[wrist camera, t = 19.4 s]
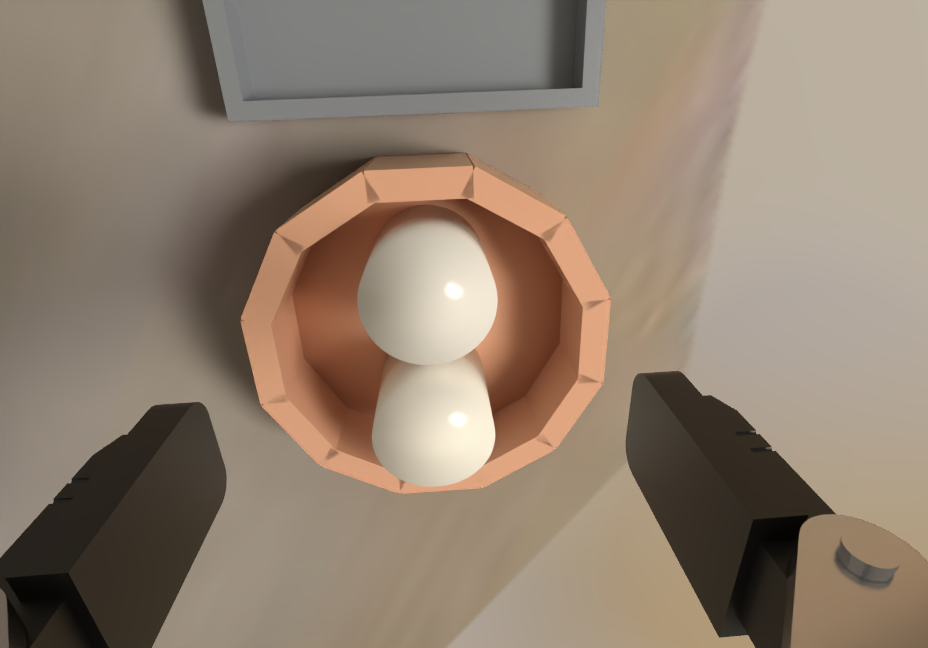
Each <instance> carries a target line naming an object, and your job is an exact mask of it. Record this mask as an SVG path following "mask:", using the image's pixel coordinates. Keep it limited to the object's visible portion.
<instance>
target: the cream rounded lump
mask: <svg viewBox="0 0 928 648" xmlns="http://www.w3.org/2000/svg"><path fill="white" fill-rule="evenodd" d="M494 443H495V427H494V422H493V417H492V411H491V406H490V401H489V396H488V391H487V386H486V381H485V375H484V370H483V365H482V361H481V358H480V356H479V354H478V352H477V350H476V349H475V348H474V349H473V350H472V351H471V352H469V353H468V354H466V355H465V356H463V357H461V358H459V359H456V360H454V361H451V362H448V363H443V364H437V365H418V364H412V363H408V362H405V361H402V360H399V359H397V358H395V357H393V356H391V355H389V354H387V356H386V359H385V362H384V366H383V371H382V377H381V383H380V389H379V395H378V401H377V406H376V412H375V418H374V424H373V430H372V445H373V449H374V452H375V454H376V457H377V458H378V460H379V462H380V463H381V464H382V465H383V467H384V468H385V469H386V470H387V471H388V472H390V473H391V474H392V475H394V476H395V477H397V478H399V479H401V480H403V481H405V482H408V483H411V484H414V485H419V486H428V487H438V486H446V485H450V484H454V483H457V482H460V481H462V480H464V479H466V478H468V477H470V476H471V475H473V474H474V473H475V472H477V471H478V470H479V469H480V468H481V467H482V466H483V465H484V464H485V463H486V461H487V460H488V458H489V457H490V455H491V453H492V450H493V447H494Z"/></svg>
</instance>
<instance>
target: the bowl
mask: <svg viewBox="0 0 928 648" xmlns="http://www.w3.org/2000/svg"><path fill="white" fill-rule="evenodd" d="M418 205H436V206H441V207H445V208H448V209H450V210H452V211H455V212H456V213H458V214H460V215H461V216H462V217H463V218H465V219H466V220H467V221H468V222H469V223H470V224H471V225H472V227H473V228H474V229H475V231H476V233H477V235H478V236H479V239H480V241H481V244H482V247H483V250H484V253H485V256H486V258H487V261H488V264H489V267H490V270H491V273H492V276H493V279H494V281H495V285H496V290H497V299H498V302H497V311H496V316H495V319H494V322H493V325H492V327H491V329H490V331H489V332H488V334H487V335H486V337H485V338H484V339H483V341H482V342H481V343H480V344H479V345H478V346H477V347H476V348H475V349H476V350H477V352H478V354H479V356H480V358H481V361H482V365H483V370H484V375H485V381H486V386H487V391H488V396H489V401H490V406H491V411H492V417H493V422H494V427H495V443H494V447H493V450H492V453H491V455H490V457H489V458H488V460H487V461H486V463H485V464H484V465H483V466H482V467H481V468H480V469H479V470H478V471H477V472H475V473H474V474H473V475H471V476H470V477H468V478H466V479H464V480H462V481H460V482H457V483H454V484H450V485H446V486H438V487H428V486H419V485H414V484H411V483H408V482H405V481H403V480H401V479H399V478H397V477H395V476H394V475H392V474H391V473H390V472H388V471H387V470H386V469H385V468H384V467H383V465H382V464H381V463H380V462H379V460H378V458H377V457H376V454H375V452H374V449H373V445H372V430H373V424H374V418H375V412H376V406H377V401H378V395H379V389H380V383H381V377H382V371H383V366H384V362H385V359H386V356H387V354H388V353H386V352H385V351H383V350H382V349H381V348H380V347H379V346H377V345H376V344H375V342H374V341H373V340H372V339H371V338H370V336H369V335H368V334H367V332H366V330H365V328H364V326H363V325H362V322H361V319H360V316H359V311H358V304H357V296H358V288H359V284H360V280H361V278H362V275H363V272H364V270H365V267H366V264H367V262H368V259H369V257H370V254H371V251H372V249H373V246H374V243H375V241H376V238H377V236H378V234H379V232H380V230H381V229H382V227H383V226H384V225H385V223H386V222H387V221H388V220H389V219H390V218H392V217H393V216H394V215H396V214H397V213H399V212H401V211H403V210H405V209H407V208H410V207H414V206H418ZM610 298H611V297H610V296H609V294H608V292H607V290H606V288H605V286H604V284H603V283H602V281H601V279H600V277H599V275H598V273H597V271H596V270H595V268H594V266H593V264H592V262H591V260H590V258H589V257H588V255H587V253H586V251H585V249H584V247H583V245H582V244H581V242H580V240H579V238H578V236H577V234H576V232H575V231H574V229H573V227H572V225H571V223H570V221H569V219H568V218H567V217H566V216H565V215H564V214H563V213H562V212H561V211H560V210H558V209H557V208H556V207H555V206H554V205H553V204H552V203H550V202H549V201H548V200H547V199H546V198H545V197H543V196H542V195H541V194H539V193H538V192H536V191H534V190H532V189H530V188H528V187H527V186H525V185H523V184H521V183H519V182H518V181H516V180H514V179H512V178H510V177H509V176H507V175H505V174H503V173H501V172H500V171H498V170H496V169H494V168H492V167H490V166H489V165H487V164H485V163H483V162H481V161H480V160H478V159H476V158H474V157H472V156H471V155H469V154H465V153H451V154H428V155H406V156H383V157H375V158H373V159H371V160H370V161H368V162H367V163H365V164H364V165H362V166H361V167H359V168H358V169H357V170H355V171H354V172H352V173H351V174H349V175H348V176H346V177H345V178H344V179H342V180H341V181H339V182H338V183H336V184H335V185H333V186H332V187H330V188H329V189H328V190H326V191H325V192H323V193H322V194H320V195H319V196H317V197H316V198H314V199H313V200H312V201H310V202H309V203H307V204H306V205H304V206H303V207H302V208H301V209H300V210H298V211H297V212H296V213H295V214H294V215H293V216H292V217H290V218H289V219H288V220H287V221H286V222H285V223H284V224H282V225H281V226H280V227H279V228H278V229H277V230H276V231H275V232H274V234H273V236H272V239H271V241H270V244H269V247H268V249H267V252H266V254H265V257H264V260H263V262H262V265H261V267H260V270H259V272H258V275H257V278H256V280H255V283H254V285H253V288H252V290H251V293H250V296H249V298H248V301H247V303H246V306H245V308H244V311H243V314H242V316H241V319H242V320H241V321H240V322H241V326H242V330H243V334H244V339H245V343H246V347H247V351H248V355H249V359H250V364H251V368H252V372H253V376H254V380H255V384H256V389H257V393H258V397H259V401H260V404H262V407H263V408H264V409H265V410H266V411H267V412H268V413H269V414H270V415H271V416H272V417H273V418H274V419H275V421H276V422H277V423H278V424H279V425H280V426H281V427H282V428H283V429H284V430H285V431H286V432H287V433H288V434H289V435H290V436H291V437H292V438H293V439H294V440H295V441H296V442H297V443H298V444H299V445H300V446H301V447H302V448H303V449H304V450H305V451H306V452H307V453H308V454H309V455H310V456H311V457H312V458H313V459H314V460H315V461H316V462H317V463H318V464H319V465H321V464H322V465H321V467H324V468H327V469H330V470H333V471H336V472H339V473H341V474H344V475H347V476H350V477H353V478H356V479H358V480H361V481H364V482H367V483H370V484H373V485H375V486H378V487H381V488H384V489H387V490H390V491H392V492H395V493H398V494H399V492H400V493H401V494H406V493H420V492H434V491H447V490H461V489H475V488H482V486H483V487H485V486H487V485H489V484H491V483H493V482H495V481H497V480H499V479H501V478H502V477H504V476H506V475H508V474H510V473H512V472H514V471H516V470H518V469H519V468H521V467H523V466H525V465H527V464H529V463H531V462H533V461H535V460H536V459H538V458H540V457H542V456H544V455H546V454H548V453H550V452H552V451H553V450H555V449H554V448H557V447H558V445H559V444H560V443H561V441H562V440H563V438H564V437H565V436H566V434H567V433H568V431H569V430H570V429H571V427H572V426H573V424H574V423H575V422H576V420H577V419H578V418H579V416H580V415H581V413H582V412H583V411H584V409H585V408H586V406H587V405H588V404H589V402H590V401H591V400H592V398H593V397H594V395H595V394H596V393H597V391H598V390H599V388H600V387H601V386H602V384H603V383H602V382H604V372H605V361H606V350H607V339H608V328H609V317H610V306H611V299H610Z"/></svg>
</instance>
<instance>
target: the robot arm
mask: <svg viewBox="0 0 928 648" xmlns="http://www.w3.org/2000/svg"><path fill="white" fill-rule="evenodd" d="M626 454H627V460H628V464H629V467H630V469H631V472H632V474H633V476H634V478H635V480H636V481H637V484H638V486H639V487H640V489H641V491H642V493H643V495H644V497H645V499H646V501H647V502H648V504H649V506H650V508H651V510H652V512H653V514H654V516H655V518H656V519H657V521H658V523H659V525H660V527H661V529H662V531H663V533H664V534H665V536H666V538H667V540H668V542H669V544H670V546H671V548H672V550H673V551H674V553H675V555H676V557H677V559H678V561H679V563H680V565H681V566H682V568H683V570H684V572H685V574H686V576H687V578H688V580H689V582H690V583H691V585H692V587H693V589H694V591H695V593H696V595H697V597H698V599H699V600H700V602H701V604H702V606H703V608H704V610H705V612H706V613H707V615H708V617H709V619H710V621H711V623H712V625H713V627H714V629H715V631H716V632H717V634H718V636H719V637H729V636H741V635H748V636H749V637H750V639H751V641H752V642H753V644H754V646H755V648H928V561H927V560H926V559H925V558H924V557H923V556H922V555H921V554H920V553H919V552H918V551H917V550H916V549H914V548H913V547H912V546H911V545H910V544H908V543H907V542H906V541H904V540H903V539H901V538H900V537H898V536H896V535H895V534H893V533H891V532H889V531H888V530H886V529H884V528H882V527H879V526H877V525H875V524H872V523H870V522H867V521H864V520H861V519H858V518H854V517H850V516H845V515H836V514H835V513H834V512H833V511H832V509H830V507H829V506H828V505H827V504H826V503H825V502H824V501H823V500H822V499H821V498H820V497H819V496H818V495H817V494H816V493H815V492H814V491H813V490H812V489H811V487H810V486H809V485H808V484H807V483H806V482H805V481H804V480H803V479H802V478H801V477H800V476H799V475H798V474H797V473H796V472H795V471H794V470H793V469H792V468H791V467H790V466H789V464H788V463H787V462H786V461H785V460H784V459H783V458H782V457H781V456H780V455H779V454H778V453H777V452H776V451H772V448H771V446H770V445H769V444H768V443H767V441H766V440H765V439H764V438H763V437H762V436H761V435H760V434H758V435H757V434H756V430H755V429H754V428H753V427H752V426H751V425H750V424H749V423H748V422H747V421H746V420H745V419H744V418H743V417H742V415H740V413H739V412H738V411H737V410H735V409H733V408H731V407H730V406H728V405H726V404H724V403H723V402H721V401H720V400H718V399H716V398H714V397H713V396H710V395H709V396H702V394H701V393H700V392H699V391H698V390H697V389H696V388H695V387H694V386H693V384H692V383H691V382H690V381H689V380H688V379H687V378H686V377H685V375H684V374H683V373H681V372H679V371H670V372H655V373H640V374H638V375H636V377H635V379H634V382H633V387H632V395H631V403H630V411H629V419H628V426H627V434H626ZM225 491H226V469H225V465H224V462H223V459H222V456H221V452H220V449H219V446H218V443H217V439H216V436H215V433H214V430H213V426H212V423H211V420H210V417H209V414H208V411H207V409H206V407H205V406H204V405H203V404H202V403H200V402H193V403H178V404H163V405H155V406H153V407H151V408H150V409H149V410H148V411H147V412H146V413H145V415H144V416H143V417H142V418H141V419H140V421H139V422H138V423H137V424H136V425H135V426H134V428H133V429H132V430H131V431H130V432H129V433H128V435H122V436H120V437H119V438H117V439H116V440H115V441H113V442H112V443H110V444H109V445H107V446H106V447H104V448H103V449H101V450H100V451H99V452H97V453H96V454H94V455H93V456H92V457H91V458H90V459H89V460H88V461H87V462H86V463H85V465H84V466H83V467H82V468H81V469H80V470H79V471H78V472H77V473H76V475H75V476H74V477H73V478H72V482H71V483H70V484H67V485H66V486H65V487H64V488H63V489H62V490H61V491H60V492H59V493H58V495H57V496H56V497H55V498H54V503H53V504H49V505H48V506H47V507H46V508H45V509H44V510H43V511H42V512H41V513H40V515H39V516H38V517H37V518H36V519H35V520H34V521H33V522H32V523H31V525H30V526H29V527H28V528H27V529H26V530H25V531H24V532H23V533H22V534H21V536H20V537H19V538H18V539H17V540H16V541H15V542H14V543H13V544H12V546H11V547H10V548H9V549H8V550H7V551H6V552H5V553H4V554H3V556H2V557H1V558H0V648H152V646H153V644H154V642H155V640H156V638H157V636H158V634H159V632H160V629H161V627H162V625H163V623H164V621H165V619H166V617H167V615H168V613H169V611H170V609H171V607H172V605H173V603H174V601H175V599H176V597H177V595H178V593H179V591H180V589H181V586H182V584H183V582H184V580H185V578H186V576H187V574H188V572H189V570H190V568H191V566H192V564H193V562H194V560H195V558H196V556H197V554H198V552H199V550H200V548H201V545H202V543H203V541H204V539H205V537H206V535H207V533H208V531H209V529H210V527H211V525H212V523H213V521H214V519H215V517H216V515H217V513H218V511H219V509H220V507H221V504H222V502H223V499H224V496H225Z"/></svg>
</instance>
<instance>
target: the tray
mask: <svg viewBox="0 0 928 648" xmlns="http://www.w3.org/2000/svg"><path fill="white" fill-rule="evenodd" d="M202 1H203V5H204V10H205V15H206V20H207V24H208V29H209V34H210V38H211V43H212V48H213V52H214V57H215V62H216V66H217V71H218V76H219V81H220V85H221V90H222V95H223V99H224V104H225V109H226V113H227V118H228V122H236V121H261V120H285V119H310V118H334V117H359V116H383V115H408V114H432V113H457V112H482V111H506V110H531V109H555V108H580V107H599V95H600V81H601V66H602V51H603V37H604V22H605V8H606V0H202Z"/></svg>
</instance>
